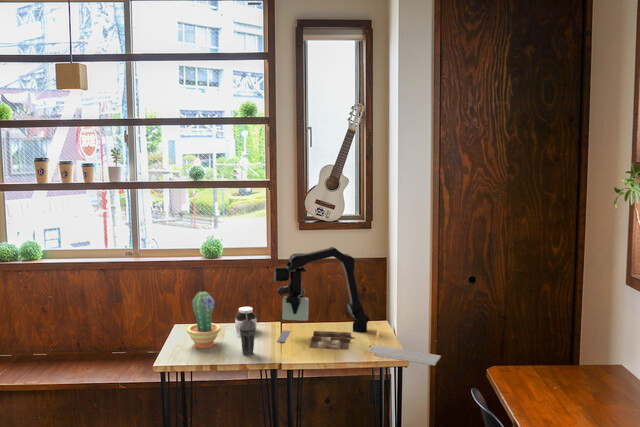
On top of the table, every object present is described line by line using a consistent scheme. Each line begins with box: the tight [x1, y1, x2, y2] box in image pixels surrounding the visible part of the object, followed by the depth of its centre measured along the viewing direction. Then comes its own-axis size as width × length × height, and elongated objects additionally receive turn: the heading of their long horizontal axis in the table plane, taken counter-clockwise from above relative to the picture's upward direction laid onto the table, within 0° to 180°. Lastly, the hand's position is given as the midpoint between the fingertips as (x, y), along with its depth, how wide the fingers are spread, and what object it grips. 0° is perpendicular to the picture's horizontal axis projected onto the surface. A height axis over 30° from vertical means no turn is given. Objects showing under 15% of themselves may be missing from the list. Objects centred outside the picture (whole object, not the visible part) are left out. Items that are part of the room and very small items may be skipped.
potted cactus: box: [186, 291, 221, 349], centre depth 278 cm, size 15×15×25 cm
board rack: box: [308, 330, 352, 351], centre depth 281 cm, size 18×18×3 cm
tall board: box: [281, 296, 310, 322], centre depth 287 cm, size 12×4×10 cm, turn 83°
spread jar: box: [234, 306, 258, 337], centre depth 296 cm, size 12×11×12 cm
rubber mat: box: [276, 330, 291, 344], centre depth 290 cm, size 14×16×1 cm
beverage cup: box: [239, 311, 257, 357], centre depth 267 cm, size 7×7×20 cm
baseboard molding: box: [366, 344, 442, 366], centre depth 266 cm, size 31×3×12 cm
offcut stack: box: [318, 337, 341, 348], centre depth 276 cm, size 10×4×4 cm, turn 83°
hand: (295, 312), depth 288 cm, fingers closed on tall board, 4 cm apart
